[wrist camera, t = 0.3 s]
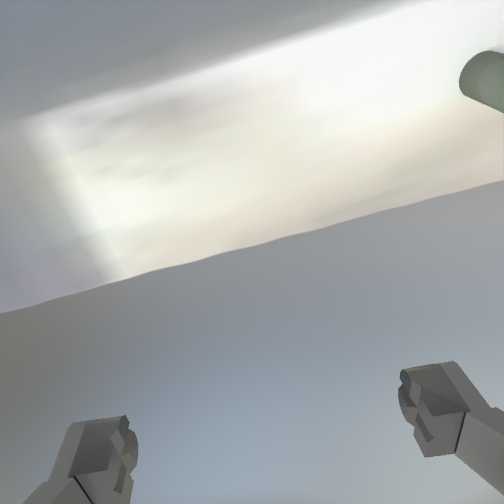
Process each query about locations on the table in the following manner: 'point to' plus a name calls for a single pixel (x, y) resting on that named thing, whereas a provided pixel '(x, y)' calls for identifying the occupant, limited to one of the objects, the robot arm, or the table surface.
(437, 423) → the robot arm
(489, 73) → the sage ceramic canister
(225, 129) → the table surface
